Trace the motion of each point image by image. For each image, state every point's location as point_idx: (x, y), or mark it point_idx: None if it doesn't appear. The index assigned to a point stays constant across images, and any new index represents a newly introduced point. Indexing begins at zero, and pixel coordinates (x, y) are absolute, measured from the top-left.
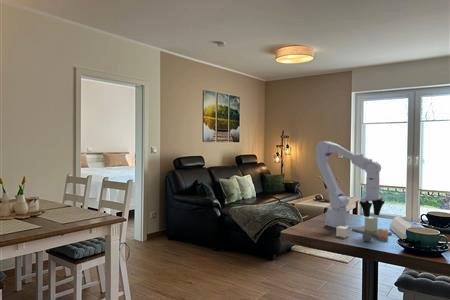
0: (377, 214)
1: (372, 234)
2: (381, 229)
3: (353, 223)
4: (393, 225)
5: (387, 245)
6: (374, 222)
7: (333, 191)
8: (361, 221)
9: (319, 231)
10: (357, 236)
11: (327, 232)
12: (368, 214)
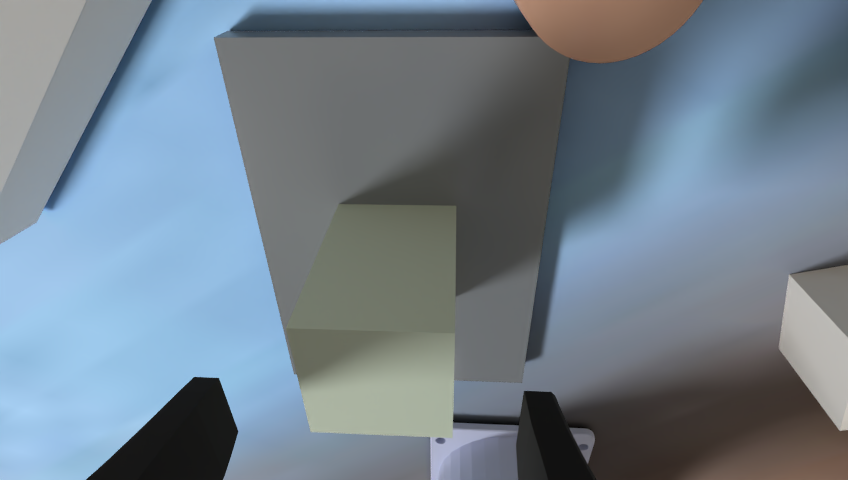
0: (212, 403)
1: (554, 140)
2: (590, 13)
3: (276, 463)
4: (4, 161)
5: None
6: (394, 283)
7: None
8: None
9: (819, 462)
10: (731, 214)
11: (803, 422)
12: (573, 439)
